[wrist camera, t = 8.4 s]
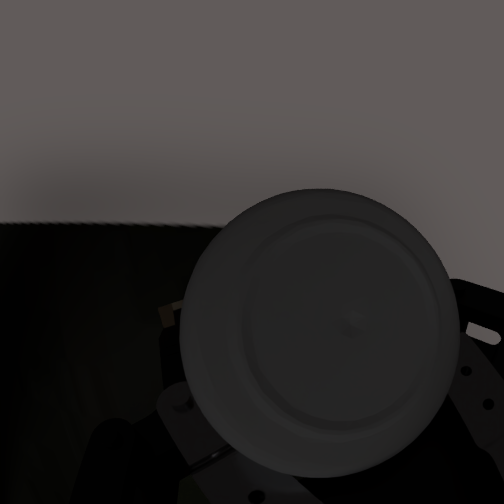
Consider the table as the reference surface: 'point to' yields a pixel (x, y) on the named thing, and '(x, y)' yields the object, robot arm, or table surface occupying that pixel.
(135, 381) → the table surface
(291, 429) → the sprinkles bottle
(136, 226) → the table surface
